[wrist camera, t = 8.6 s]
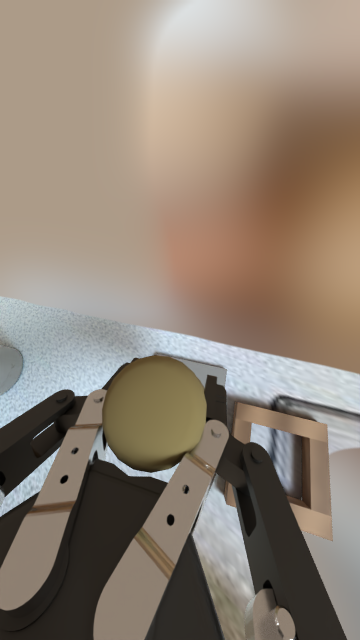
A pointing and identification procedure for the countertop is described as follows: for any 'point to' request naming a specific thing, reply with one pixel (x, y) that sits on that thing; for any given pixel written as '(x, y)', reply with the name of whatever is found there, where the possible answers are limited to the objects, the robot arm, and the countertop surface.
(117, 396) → the cork
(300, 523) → the walnut socket
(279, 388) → the countertop surface
